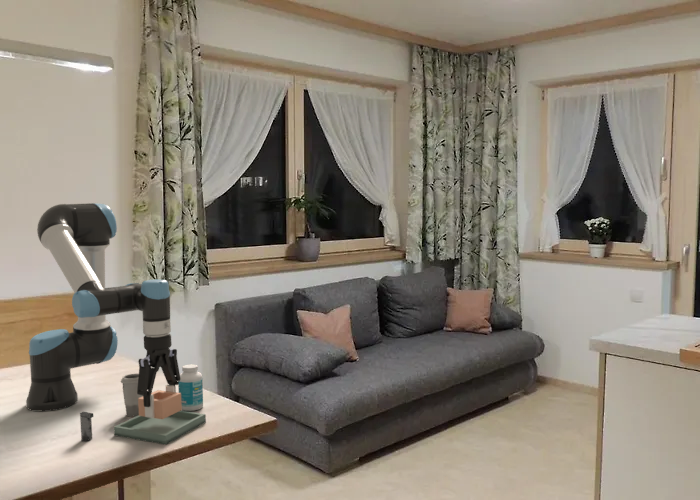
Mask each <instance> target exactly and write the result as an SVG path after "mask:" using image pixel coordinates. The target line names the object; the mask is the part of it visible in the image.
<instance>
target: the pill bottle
mask: <svg viewBox="0 0 700 500" xmlns="http://www.w3.org/2000/svg"><path fill="white" fill-rule="evenodd" d="M181 368H182V372H181V373H180V381H177V382H179V384H178V385H177V386H178V393H181V403H182V410H181V411H188V412H195V411H198V410H200V409H202V408H203V407H204V390H203V388H204V387H203V375H202V373H201V372H199V371H198V370H199V366H198V365H197V364H191V363H190V364H185V365H182V367H181Z"/></svg>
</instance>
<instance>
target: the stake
mask: <svg viewBox="0 0 700 500" xmlns="http://www.w3.org/2000/svg"><path fill="white" fill-rule="evenodd" d="M79 416H80V417H79V419H80V421H79V422H80V437H81V438H80V439H81V442H90V441H91V440H93V426H92V418H94V413H93V412H87V411H82V412H80V413H79Z"/></svg>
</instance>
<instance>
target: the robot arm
mask: <svg viewBox="0 0 700 500" xmlns="http://www.w3.org/2000/svg"><path fill="white" fill-rule="evenodd" d="M117 226H118V225H117V220H116V216H115V214H114V212H113V210H112V209H111V208H110V207H109V205H107V204H104V203H96V202H95V203H94V202H93V203H92V202H91V203H89V202H88V203H70V204H69V203H68V204H67V203H60V204H56V205H53V206H51V207H50V208H48V209H47V210H45V212H43V214H42V215H41V216H40V218H39V220H38V223H37V230H36V231H37V236H38V237H37V238H38V240H39V241H40V243H41V244H42V246H43V248H45V249H47V250H48V251H50V253H51V255H52V257H53V259H54V260H55V262H56V263H57V265H58V267H59V269H60V270H61V272H62V274H63V276H64V278H65V279H66V281H67V282H68V284H69V286H70V287H71V289H72V292H73V295H72V299H71V305H72V306H71V307H72V308H73V313H74V314H75V316H76V317H77V321H76V322H75V323H74V324H73V325H72V332H69V330H67V329H64V328H59V329H51V330H47V331H43V332H41V333H38V334H35V335H34V336H33V337H32V338H30V340H29V347H28V350H29V351H28V354H29V368H30V386H29V390H28V395H27V398H26V400H25V403H26V404H25V405H26V406H27V407H26V406H25V407H26V409H27V408H29V409H31V410H30V411H32V410H42V411H41V412H46V411H45V410H51V411H56V409H57V410H62V409H65V408H69V407H71V406H73V405H75V404H77V403H78V401H79V397H78V392H77V389H76V387H75V385H74V383H73V380H72V377H71V370H72V369H75V368H81V367H86V366H91V365H95V364H96V365H97V364H102V363H104V362H108V361H110V360H112V359H113V357H115V354H116V353H117V350H118V344H119V343H118V336H117V331H116V329H115V328H114V327H112V326H111V322H109V321H108V320H107V319H106V316H107V315H115V314H120V313H121V314H122V313H128V312H133V311H134V312H135V311H141V312H142V331H143V332H142V333H143V335H144V336H143V348H144V349H145V350H146V354H145V357H144V358H138V361H137V362H138V367H139V369H138V373H139V377H138V388H137V394H139V395H143V401H144V407H145V417H148V418H154V417H155V414H154V395H153V394H151V393H152V392H153V388H154V385H155V381H156V378H157V377H156V376H157V373H158V372H159V371H160V368H161V370H162V374H163V376H164V377H165V381H166V383H167V384H166V385H165V391H169V392H176V386H178V384H179V382H178V381H180V374H181V373H180V369H179V363H178V353H177V352H178V350H177V349H176V348H171V347H172V334H171V330H172V328H171V298H170V297H171V292H170V285H169V281H168V280H166V279H159V278H158V279H157V278H155V279H154V278H153V279H148V280H146V279H145V280H143V281H142V282H141V283H139V282H138V283H137V282H136V283H135V282H134V283H128V284H125V285H120V286H113V287H112V286H111V287H106V249H107V248H108V247H109V246H110V239H113V238H115V237H116V233H117V232H118V231H117V229H118V227H117ZM176 393H177V392H176ZM29 409H28V410H29Z"/></svg>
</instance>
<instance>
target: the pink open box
mask: <svg viewBox="0 0 700 500" xmlns="http://www.w3.org/2000/svg"><path fill="white" fill-rule="evenodd" d="M151 394H153V395H154V414H155V417H154V418H157V419H164V418H166V417H168V416H171V415H173V414H175V413H177V412H179V411H183V410H182V403H181V393H179V392H169V391H166V390H159V389H157V390H155V391H152V393H151ZM138 408H139V416H144V417H145V407H144V401H143V397H140V398H138Z"/></svg>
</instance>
